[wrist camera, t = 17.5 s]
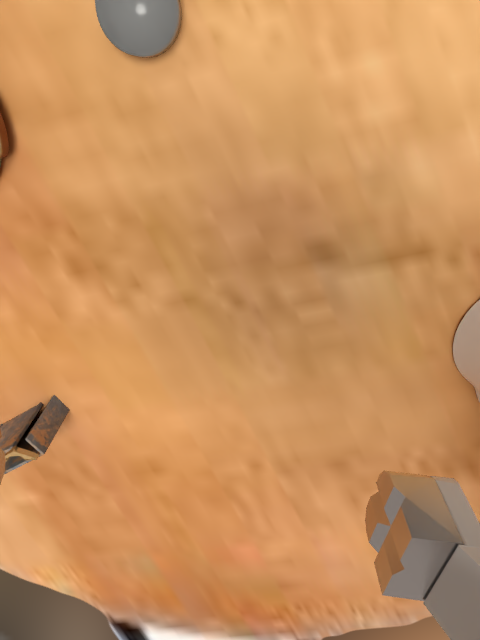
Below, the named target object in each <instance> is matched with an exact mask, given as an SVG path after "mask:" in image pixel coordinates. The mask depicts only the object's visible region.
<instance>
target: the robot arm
mask: <svg viewBox="0 0 480 640" xmlns="http://www.w3.org/2000/svg"><path fill="white" fill-rule="evenodd" d="M453 357H454V361H455V364H456V366H457V368H458V370H459V372H460V373H461V374H462V376H463V377H464V378H465V379H466V380H468V381H469V382H470V383H471V384H472V385H473V386H474V388H475V391H476V395H477V398H478V400H479V402H480V300H478V301H477V302H476V303H475V304H474V305H473V306H472V307H471V309H470V310H469V311H468V312H467V313H466V315H465V316H464V318H463V319H462V321H461V323H460V324H459V326H458V329H457V331H456V334H455V337H454V342H453ZM1 437H2V435H1V430H0V438H1ZM5 463H6V459H5V452H4V451H3V450H2V449H1V448H0V484H1V481H2V478H3V475H4V472H5ZM376 483H377V487H378V490H379V492H377V493H376V494H374V495H373V496H371V497H370V499H369V502H368V505H367V508H366V518H365V523H366V532H367V536H368V540H369V543H370V544H371V545H372V546H373V547H374V549H375V550H376V551H377V552H378V555H377V557H376V560H375V562H374V564H375V568H376V572H377V576H378V580H379V584H380V588H381V592H382V595H385V596H392V597H399V598H406V599H413V600H420V601H424V605H425V606H426V607H427V609H428V610H429V611H430V613H431V614H432V615H433V617H434V618H435V619H436V621H437V622H438V623H439V625H440V626H441V627H442V629H443V630H444V631H445V633H446V634H447V635H448V636H449V638H450V639H451V640H480V523H479V521H478V520H477V518H476V516H475V514H474V512H473V510H472V508H471V506H470V504H469V502H468V500H467V498H466V496H465V495H464V493H463V491H462V489H461V487H460V485H459V483H458V482H457V481H456V480H455V479H454V478H445V477H436V476H427V475H419V474H410V473H401V472H393V471H383V472H382V473H381V474H380V475H379V478H378V480H377V482H376Z"/></svg>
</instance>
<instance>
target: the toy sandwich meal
mask: <svg viewBox="0 0 480 640" xmlns="http://www.w3.org/2000/svg"><path fill="white" fill-rule="evenodd" d="M8 151H9V143H8V136H7V132H6V127H5V124H4V121H3V118H2V115H1V113H0V166H1V159H2V158H3V157H6V156H7V154H8Z"/></svg>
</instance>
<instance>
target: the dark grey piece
mask: <svg viewBox="0 0 480 640" xmlns="http://www.w3.org/2000/svg"><path fill="white" fill-rule="evenodd" d="M42 405H43V404H42V403H39V404H38V405H37V406H35V407H33V408H31V409H29V410H27V411H26V412H24V413H22V414H20V415H18V416H16V417H15V418H13V419H11V420H9V421H7V422H6V423H4V424H0V430H1V435H2V437H1V438H0V448H1V449H2V450H3V451H4V452H5V459H6V463H5V472H4V474H6V473H8V472H10V471H12V470H14V469H16V468H18V467H20V466H22V465H24V464H26V463H28V462H30V461H32V460H37V458H38V457H40V456H42V455H44V454H45V452H46V450H47V449H48V447H49V445H50V443H51V442H52V440H53V438H54V436H55V434H56V433H57V431H58V429H59V427H60V426H61V424H62V422H63V420H64V419H65V417H66V415H67V413H68V411H69V409H68V408H67V407H66V406H65V405H64V404H63V403H62V402H61V401H60V400H59V399H58V398H57V397H56V396H55V395H54V396H53V397H52V398H51V400H50V401H49V403H48V404H47V406H46V408H45V409H44V411H43V412H42V414H41V415H40V417H39V418H38V420H37V422H36V423H35V425H34V426H33V427H31V428H29V429H27V428H28V427H29V425H30V424H31V422H32V421H33V419H34V418H35V416H36V415H37V413H38V412H39V410H40V409H41V407H42Z"/></svg>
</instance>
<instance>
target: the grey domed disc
mask: <svg viewBox="0 0 480 640" xmlns="http://www.w3.org/2000/svg"><path fill="white" fill-rule="evenodd" d="M95 5H96V13H97V17H98V20H99V23H100V25H101V28H102V30H103V32H104V33H105V35H106V36H107V38H108V39H109V40H110V41H111V42H112V43H113V44H114V45H115V46H116V47H117V48H119V49H120V50H121V51H123V52H125V53H128V54H130V55H134V56H139V57H144V58H150V57H155V56H158V55H161V54H162V53H164V52H166V51H167V50H168V49H169V48H170V47H171V46H172V45H173V43H174V42H175V40H176V38H177V36H178V34H179V31H180V27H181V21H182V10H181V3H180V0H95Z"/></svg>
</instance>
